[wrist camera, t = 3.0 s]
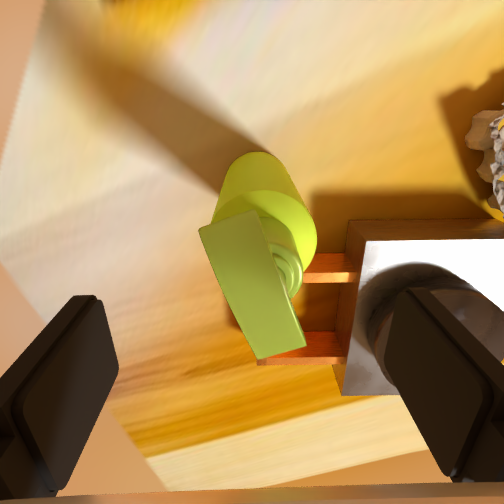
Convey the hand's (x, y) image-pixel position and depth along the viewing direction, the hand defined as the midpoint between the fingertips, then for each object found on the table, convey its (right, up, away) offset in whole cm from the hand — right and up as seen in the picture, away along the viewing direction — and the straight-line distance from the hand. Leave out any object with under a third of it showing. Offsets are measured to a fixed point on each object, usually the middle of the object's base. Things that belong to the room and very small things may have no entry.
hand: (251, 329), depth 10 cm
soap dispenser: (0, +9, +18) cm, 21 cm away
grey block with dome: (+12, -3, +24) cm, 27 cm away
